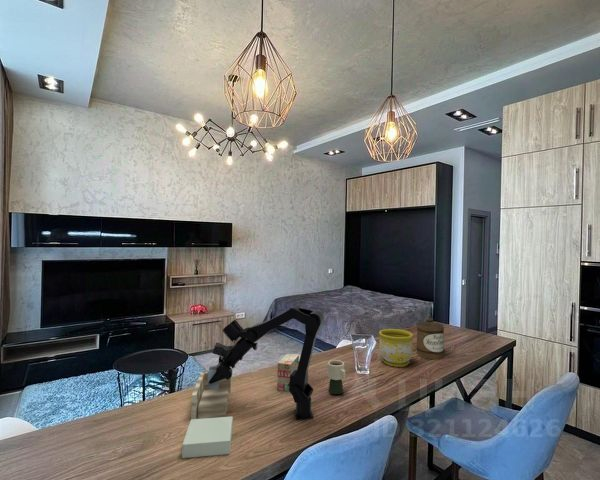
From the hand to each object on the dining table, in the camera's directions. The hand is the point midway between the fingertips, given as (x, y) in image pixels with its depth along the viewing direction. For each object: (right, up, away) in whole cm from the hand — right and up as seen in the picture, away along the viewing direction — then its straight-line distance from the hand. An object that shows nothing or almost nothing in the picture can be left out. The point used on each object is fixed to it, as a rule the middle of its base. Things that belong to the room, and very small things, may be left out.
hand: (210, 379), depth 124 cm
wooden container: (+112, -13, +63) cm, 129 cm away
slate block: (+1, -3, 0) cm, 3 cm away
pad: (+6, -11, -22) cm, 25 cm away
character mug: (+51, -12, +14) cm, 54 cm away
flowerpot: (+88, -13, +50) cm, 102 cm away
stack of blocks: (+31, -12, +25) cm, 42 cm away
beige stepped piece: (0, -11, +3) cm, 12 cm away
